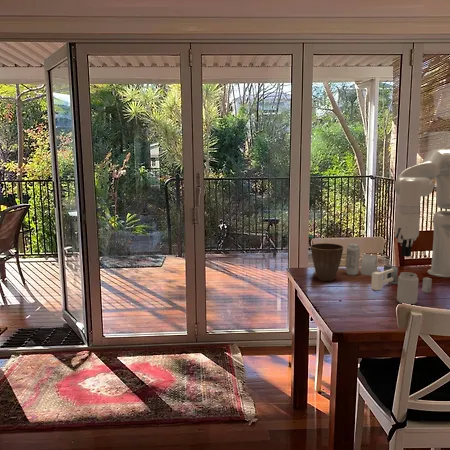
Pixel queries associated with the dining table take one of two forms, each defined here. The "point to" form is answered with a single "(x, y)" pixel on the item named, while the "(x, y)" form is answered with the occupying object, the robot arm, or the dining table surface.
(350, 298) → the dining table surface
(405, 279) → the can
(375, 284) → the gate
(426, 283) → the post
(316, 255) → the plant pot
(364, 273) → the tea bag
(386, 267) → the hinge mount
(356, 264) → the energy drink can
